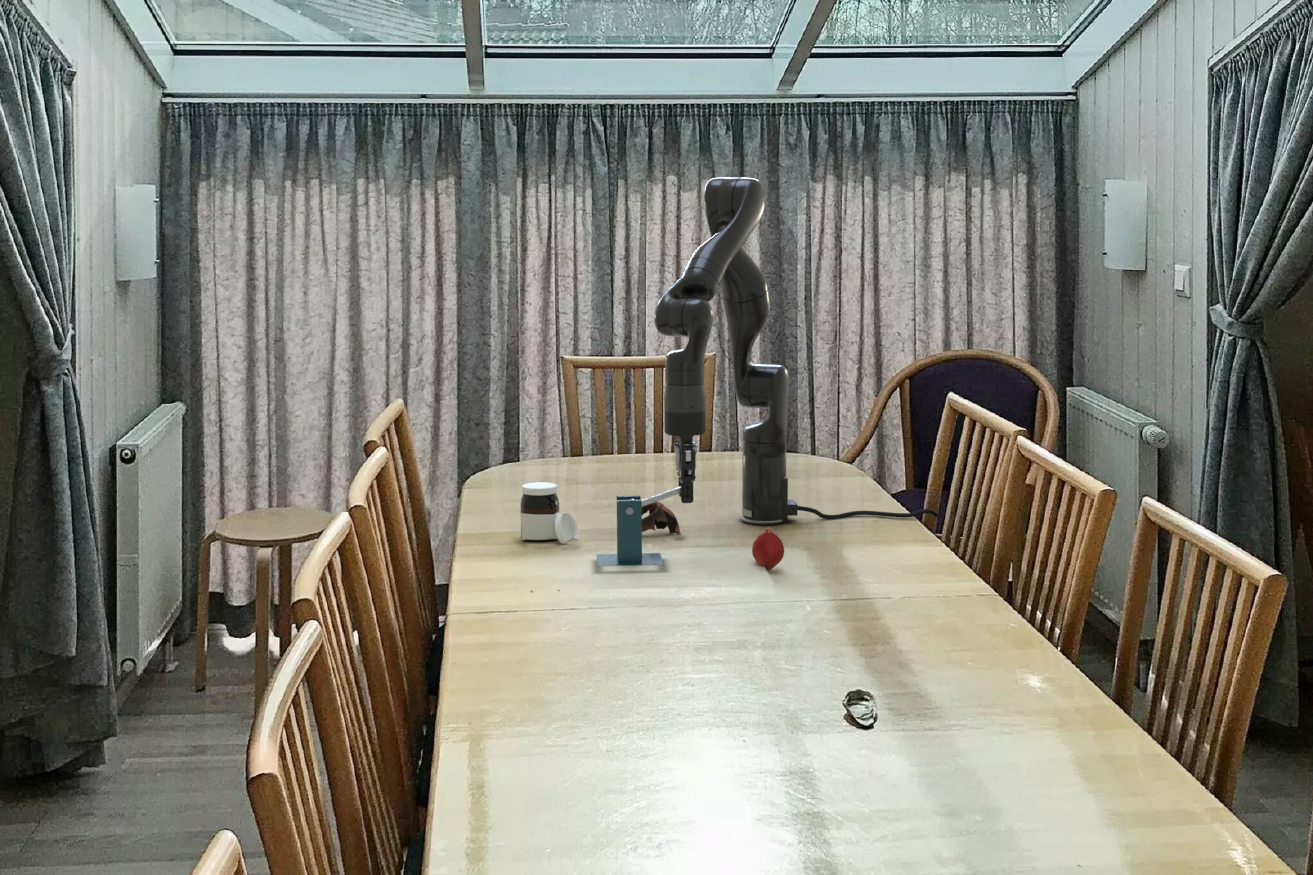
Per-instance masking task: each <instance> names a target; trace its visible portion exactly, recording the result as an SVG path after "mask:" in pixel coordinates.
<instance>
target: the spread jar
mask: <svg viewBox="0 0 1313 875" xmlns="http://www.w3.org/2000/svg"><path fill="white" fill-rule="evenodd" d="M521 492H522V493H521V494H522V496H521V499H520V510H519V511H520V539H521V540H522V541H523V542H524V543H525V542H526V543H552V542H557V541H559V543H560V544H561V545H569V544H570V543H569V542H568V541H570V540H571V539H575V540H576V539H577V540H579V528H578V525H577V523H576V520H575V518H574V517H573V516H572V515H571V513H569V512H567V511H564V512H561V513H560V499H559V496H558V494H557V493H558V484H556V483H554V482H545V481H544V482H543V481H538V482H528V483H524V484H522V485H521Z"/></svg>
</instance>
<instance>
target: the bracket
mask: <svg viewBox="0 0 1313 875" xmlns="http://www.w3.org/2000/svg"><path fill="white" fill-rule="evenodd" d="M633 498H634V500H630V499H633ZM642 500H643V499H641V495H640V494H639V495H638V494H636V495H616V553H601V554H600V553H597V554H596V566H597V567H628V566H629V567H630V566H631V567H633V566H634V567H637V566H664V560H663V558H662V557H663V556H662V553H661V552H648V553H647V552H646V553H645V552H643V532H642V519H643V515H642Z"/></svg>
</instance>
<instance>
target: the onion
mask: <svg viewBox="0 0 1313 875" xmlns="http://www.w3.org/2000/svg"><path fill="white" fill-rule="evenodd" d="M751 546H752V547H751V554H752V557H753V559H754V560H755V562H756V563H757V564H758V565H761V566H764V568H765V570H766V571H771V570H773V569H774V568H775V567H776V566H778V565H779V564H780V563H781V561H782V560H783V558H784V556H785V545H784V543H783V541H782V539H781V538H780V537H779V536H778V535H777V534H776V533H775V532H773V530H772V528H771V527H766V528H765V530H764V531H763V532H762V533H761V534H759V535H758V536H757V537H756V538H755V540H754V541H753V543H752V545H751Z"/></svg>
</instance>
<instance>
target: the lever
mask: <svg viewBox="0 0 1313 875" xmlns="http://www.w3.org/2000/svg"><path fill="white" fill-rule="evenodd" d="M680 493H681V486H680V487H679V486H678V487H675V488H672V489H669V490H666V491H664V492H661V493H657V494H655V495H651V496H649V497H646V498H644V499H641V500H642V506H645V505H648V504H651V503H654V502H657V501H658V502H660V501H663V500H665V499H668V498H672V497H675V496H677V495H679V494H680ZM630 500H634V498H633V499H630Z"/></svg>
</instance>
